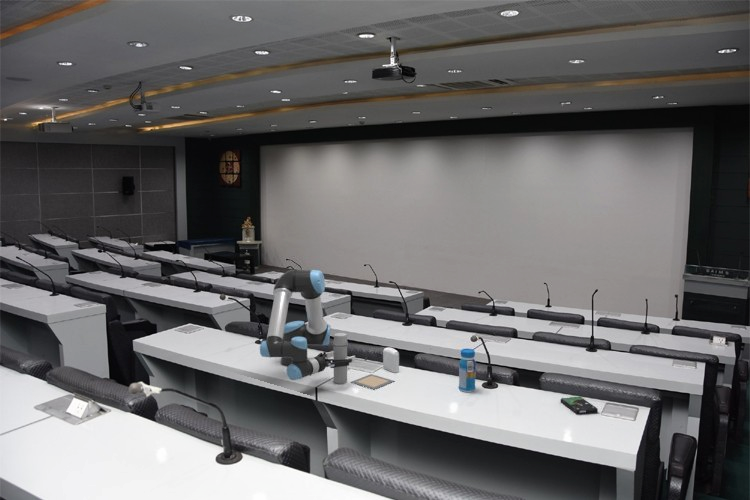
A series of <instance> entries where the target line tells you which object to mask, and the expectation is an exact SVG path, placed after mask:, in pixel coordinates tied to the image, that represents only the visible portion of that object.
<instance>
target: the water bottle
mask: <svg viewBox="0 0 750 500" xmlns="http://www.w3.org/2000/svg"><path fill="white" fill-rule="evenodd" d="M332 345H333V347H332V348H333V349H332V351H333V352H334V357H333V360H341V359H345V358H348V345H349V343H348V334H347V333H345V332H337V333H334V335H333V343H332ZM333 382H334V383H335V384H338V385H344V384H345V383H347V382H348V366H342V367H335V368H333Z"/></svg>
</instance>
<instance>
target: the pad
mask: <svg viewBox="0 0 750 500" xmlns="http://www.w3.org/2000/svg"><path fill="white" fill-rule="evenodd" d="M392 382H393V383H395V380H392V379H389V378H387V377H386V378H385V377H383V376H379V375H376V374H372V373H370V374H368V375H365V376H363V377H360V378H358V379H354V380H352V381H350V383H351V384H353V383H354V384H353V385H356V384H357V386H360V385H361V386H360V387H363V386H364V387H363V388H366V387H367V388H366V389H369V388H370V389H369V390H372V389H373V391H375V389H376V390H378V389H381V388H383V387H385V386H387V384H388V385H390V384H392ZM380 387H381V388H380Z"/></svg>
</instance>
